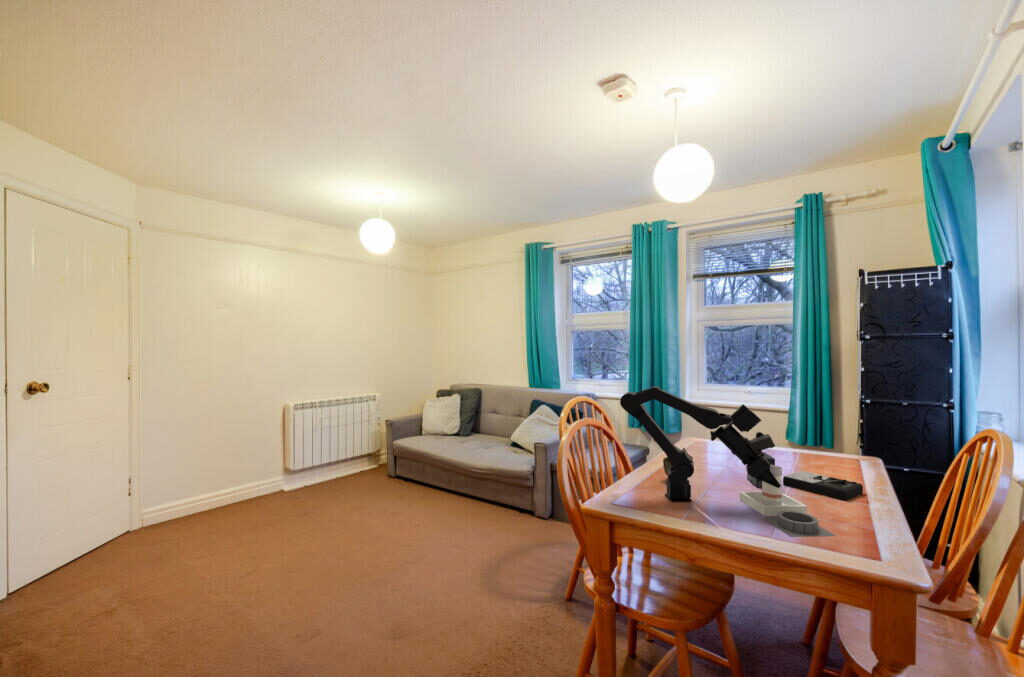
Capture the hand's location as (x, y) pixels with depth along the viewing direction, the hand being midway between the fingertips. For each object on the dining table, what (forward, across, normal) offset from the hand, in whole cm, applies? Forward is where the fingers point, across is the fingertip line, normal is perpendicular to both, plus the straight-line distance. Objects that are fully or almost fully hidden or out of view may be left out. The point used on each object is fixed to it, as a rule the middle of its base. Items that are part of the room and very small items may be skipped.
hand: (777, 482), depth 132 cm
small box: (+6, +28, +7) cm, 29 cm away
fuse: (+4, 0, +6) cm, 8 cm away
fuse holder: (+8, -14, +4) cm, 16 cm away
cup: (-15, +19, +27) cm, 36 cm away
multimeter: (+19, +28, -6) cm, 35 cm away
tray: (+5, 0, +7) cm, 9 cm away
